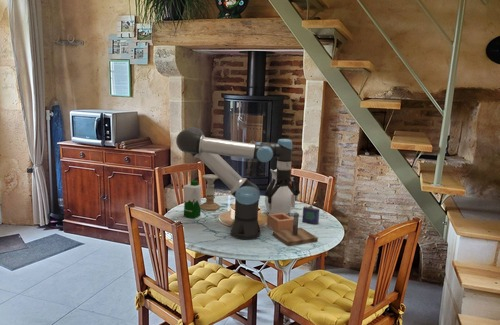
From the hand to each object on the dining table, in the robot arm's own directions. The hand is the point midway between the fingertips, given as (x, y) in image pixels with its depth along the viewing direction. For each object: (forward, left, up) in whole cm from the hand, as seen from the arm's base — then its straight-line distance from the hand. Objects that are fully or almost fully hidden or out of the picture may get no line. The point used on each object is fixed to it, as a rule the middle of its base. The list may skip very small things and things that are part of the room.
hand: (282, 208), depth 200 cm
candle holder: (-24, +45, -11) cm, 52 cm away
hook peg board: (-1, -16, -11) cm, 19 cm away
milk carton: (-39, +33, -11) cm, 53 cm away
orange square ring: (0, 0, -11) cm, 11 cm away
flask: (+20, +1, -11) cm, 23 cm away
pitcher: (+14, +24, -11) cm, 30 cm away
